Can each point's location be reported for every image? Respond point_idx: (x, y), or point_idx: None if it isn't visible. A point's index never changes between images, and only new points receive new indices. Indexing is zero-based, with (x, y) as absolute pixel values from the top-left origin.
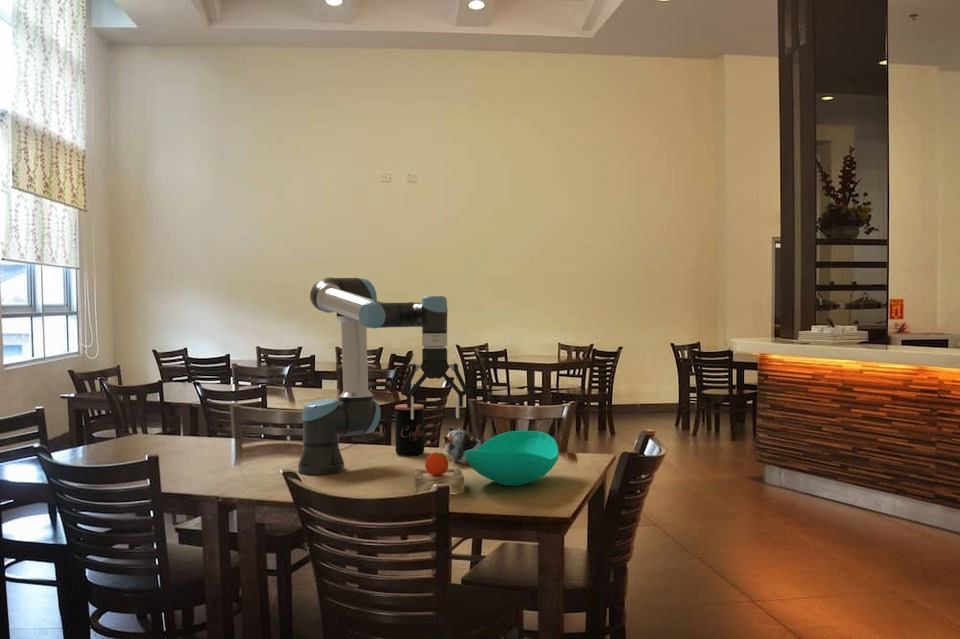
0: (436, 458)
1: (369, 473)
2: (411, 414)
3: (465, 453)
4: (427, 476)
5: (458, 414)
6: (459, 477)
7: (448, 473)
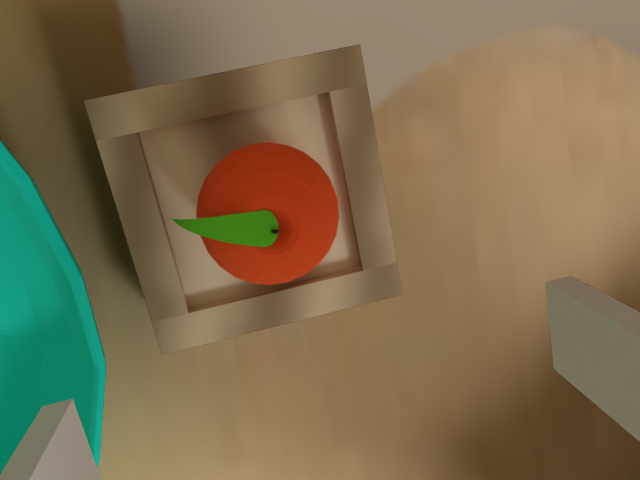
0: (263, 166)
1: (591, 458)
2: (598, 295)
3: (66, 247)
4: None
5: (36, 431)
6: (111, 95)
7: (210, 265)
